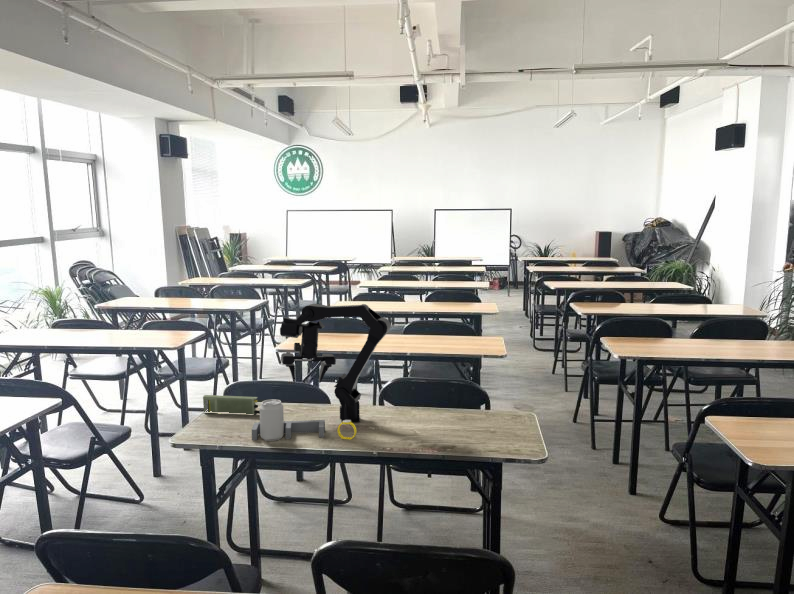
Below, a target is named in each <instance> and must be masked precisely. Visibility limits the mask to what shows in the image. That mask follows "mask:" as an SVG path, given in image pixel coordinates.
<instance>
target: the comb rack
mask: <svg viewBox="0 0 794 594" xmlns="http://www.w3.org/2000/svg"><path fill="white" fill-rule="evenodd" d="M297 433H298V434H300V433H301V434H302V433H303V434H304V433H318V437H319V438H325V433H326V419H315V420H313V419H311V420H309V419H306V420H288V421H287V420H284V434H285V440H289V439H290V440H291V438H292V434H297ZM259 435H260V421H259V422H255V421H254V423H253V424H252V428H251V441H258V437H259Z"/></svg>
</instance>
